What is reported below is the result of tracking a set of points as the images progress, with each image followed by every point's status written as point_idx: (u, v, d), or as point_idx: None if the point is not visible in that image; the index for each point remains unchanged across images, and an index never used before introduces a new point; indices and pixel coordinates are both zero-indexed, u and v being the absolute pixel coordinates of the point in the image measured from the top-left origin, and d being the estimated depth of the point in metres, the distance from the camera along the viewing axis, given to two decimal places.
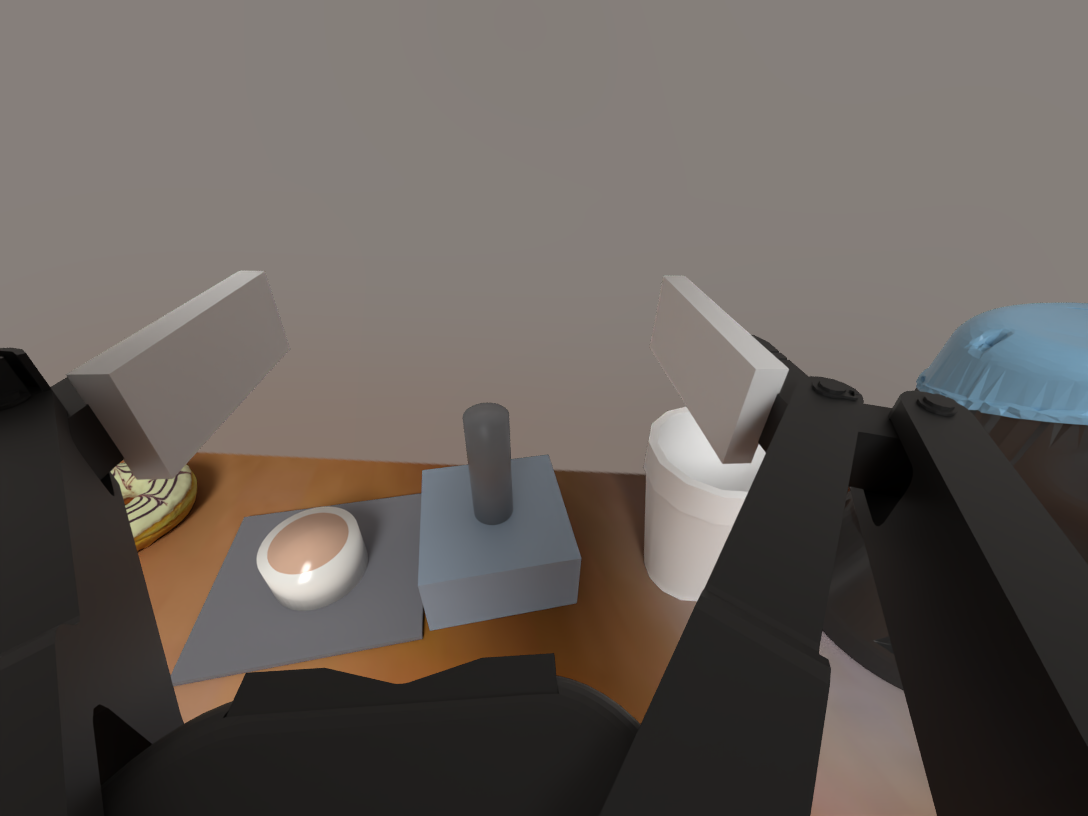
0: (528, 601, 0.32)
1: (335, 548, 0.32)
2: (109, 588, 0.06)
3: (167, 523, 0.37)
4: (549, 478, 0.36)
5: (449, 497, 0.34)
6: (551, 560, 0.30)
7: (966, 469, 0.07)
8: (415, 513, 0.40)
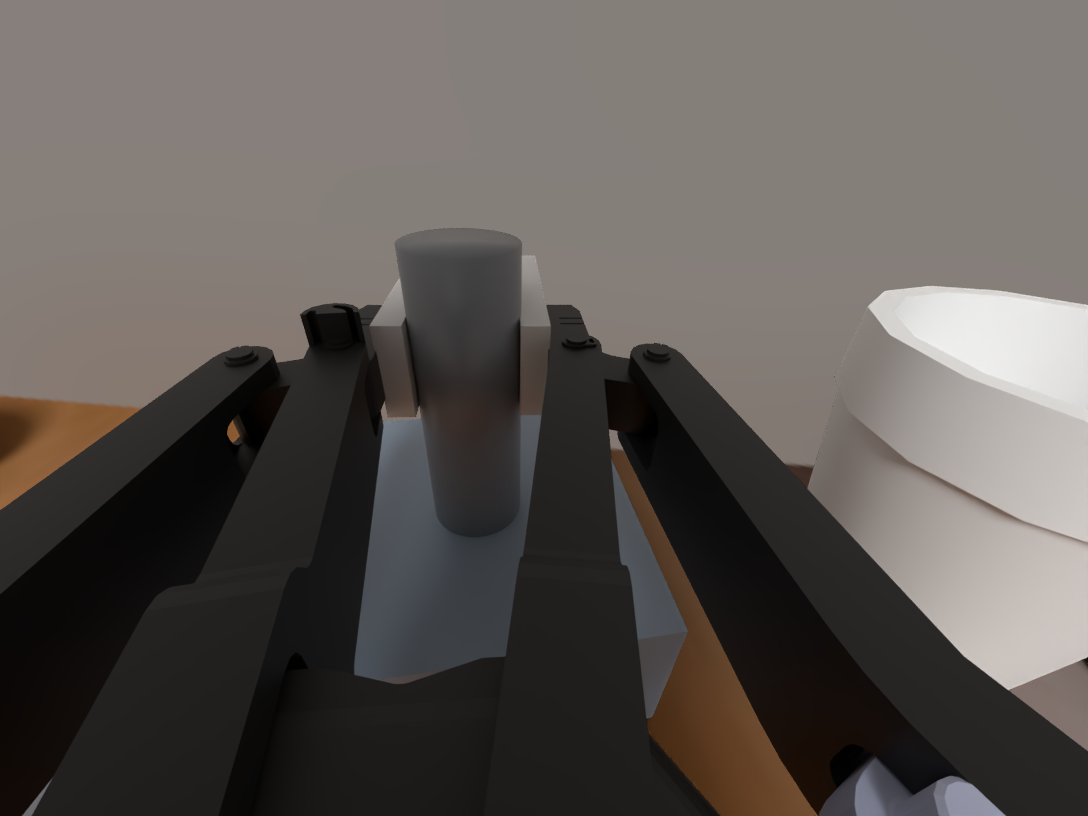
0: None
1: None
2: (343, 527, 0.07)
3: None
4: None
5: (388, 474, 0.17)
6: None
7: (690, 405, 0.08)
8: None
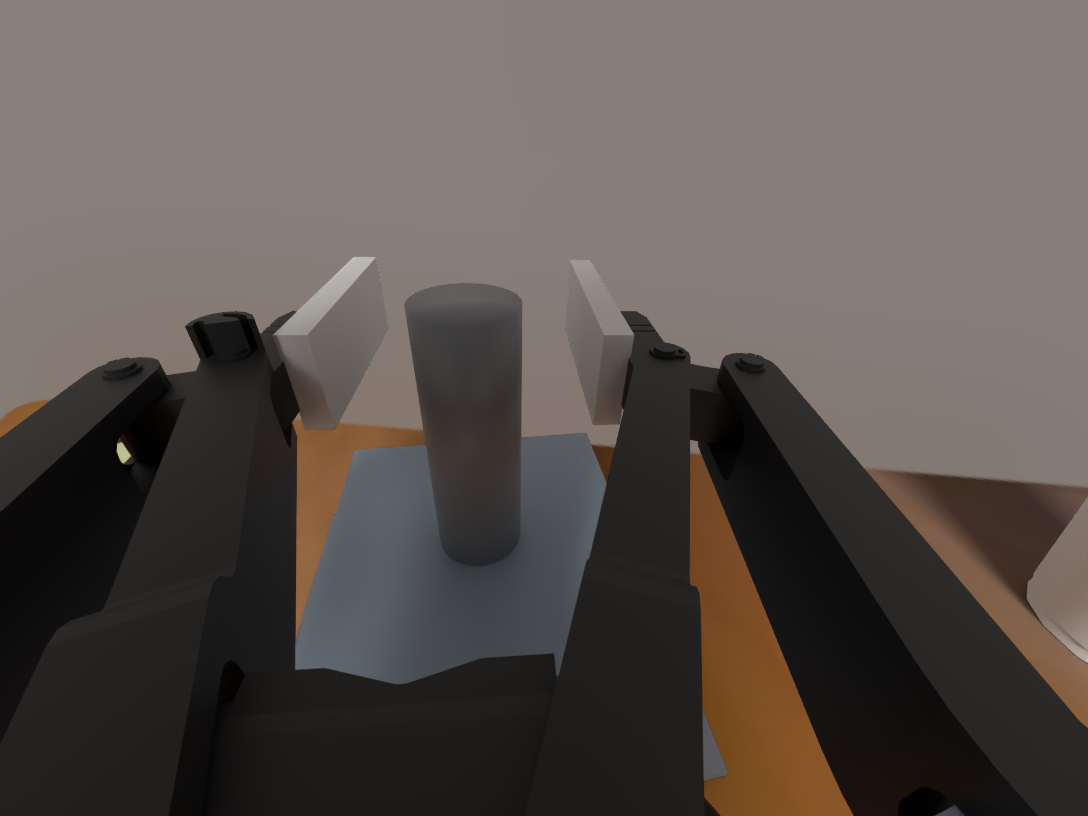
0: None
1: None
2: (266, 538, 0.06)
3: None
4: (591, 473, 0.19)
5: (395, 502, 0.17)
6: None
7: (781, 418, 0.08)
8: None
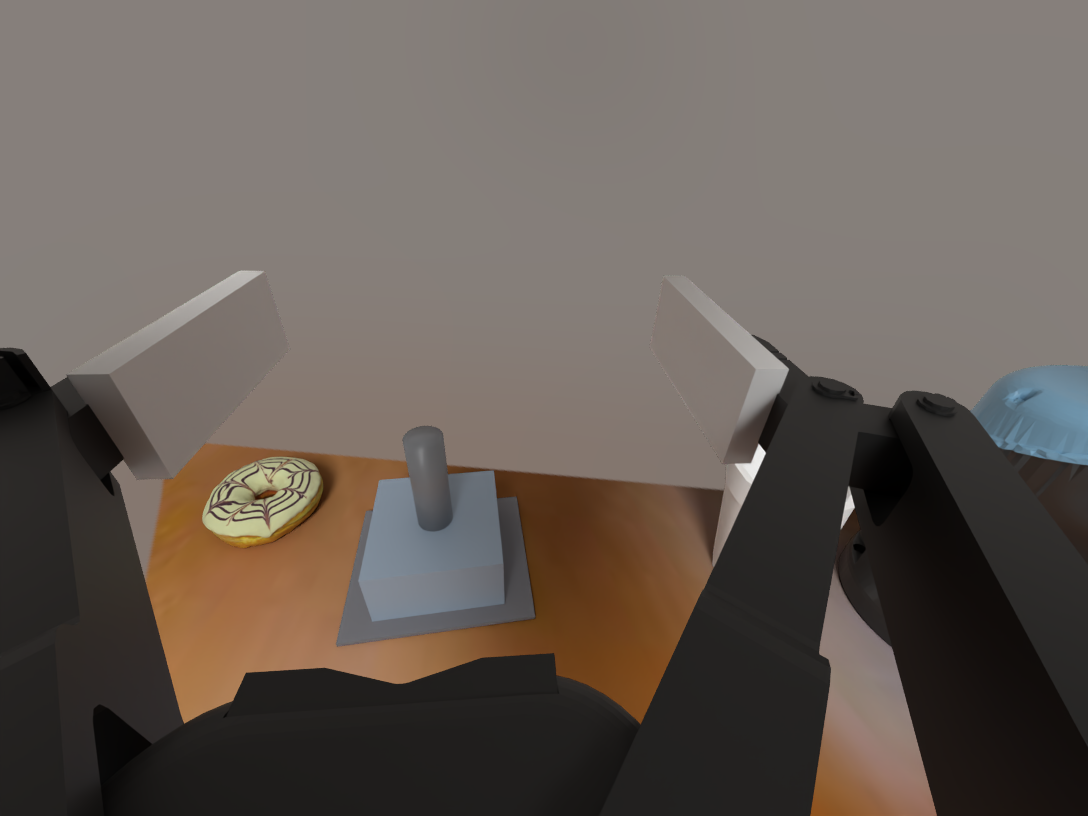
0: (459, 600, 0.36)
1: None
2: (109, 588, 0.06)
3: (305, 513, 0.44)
4: (490, 491, 0.41)
5: (398, 505, 0.39)
6: (477, 564, 0.34)
7: (966, 469, 0.07)
8: (510, 514, 0.46)
